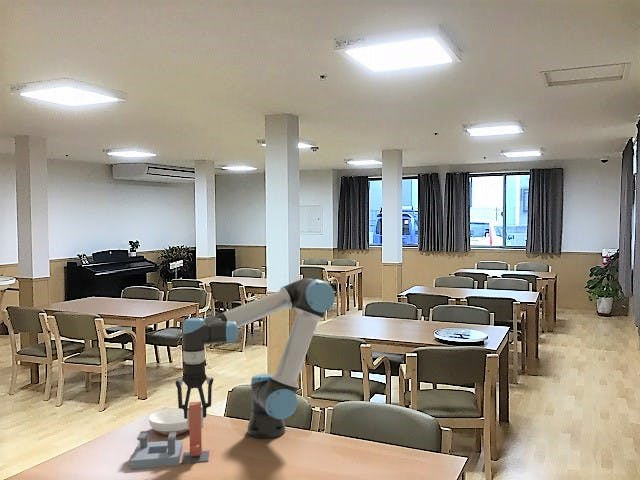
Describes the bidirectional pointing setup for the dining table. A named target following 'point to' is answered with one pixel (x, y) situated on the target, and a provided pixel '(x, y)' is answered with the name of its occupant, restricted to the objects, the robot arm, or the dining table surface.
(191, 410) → the orange tabbed bar
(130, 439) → the dining table surface
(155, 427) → the bowl
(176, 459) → the eye block
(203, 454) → the mat
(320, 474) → the dining table surface
